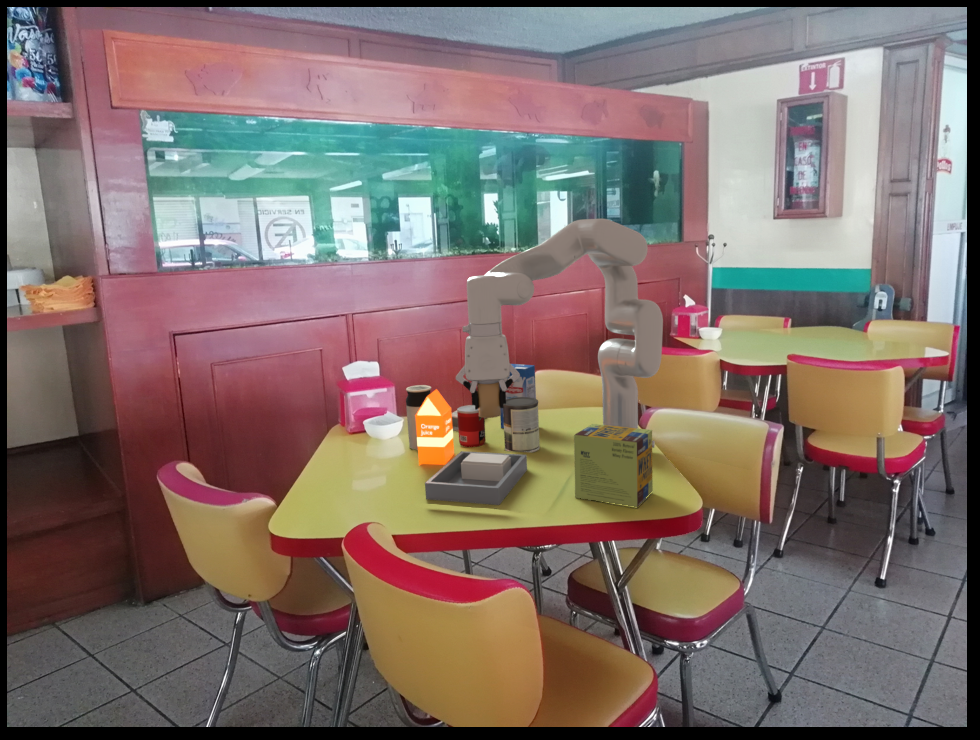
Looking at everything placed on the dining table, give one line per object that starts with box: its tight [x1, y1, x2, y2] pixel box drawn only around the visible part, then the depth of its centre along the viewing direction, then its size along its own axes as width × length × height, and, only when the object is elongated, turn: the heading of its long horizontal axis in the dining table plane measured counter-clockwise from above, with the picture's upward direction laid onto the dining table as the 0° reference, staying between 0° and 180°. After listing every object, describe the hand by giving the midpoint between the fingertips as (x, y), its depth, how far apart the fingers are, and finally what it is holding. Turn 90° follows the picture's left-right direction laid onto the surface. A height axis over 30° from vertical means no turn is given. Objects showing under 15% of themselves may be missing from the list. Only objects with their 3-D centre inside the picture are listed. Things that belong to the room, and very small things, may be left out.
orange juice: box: [415, 388, 455, 467], centre depth 189 cm, size 8×9×20 cm
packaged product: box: [451, 404, 468, 432], centre depth 229 cm, size 18×5×10 cm
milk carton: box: [499, 363, 537, 429], centre depth 219 cm, size 10×6×20 cm, turn 58°
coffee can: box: [503, 397, 541, 453], centre depth 198 cm, size 10×10×14 cm
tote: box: [424, 450, 528, 510], centre depth 169 cm, size 18×24×5 cm
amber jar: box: [476, 380, 501, 419], centre depth 160 cm, size 5×5×9 cm
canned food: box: [456, 404, 487, 448], centre depth 205 cm, size 8×8×11 cm
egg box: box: [461, 453, 511, 481], centre depth 175 cm, size 11×7×5 cm, turn 72°
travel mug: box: [405, 384, 432, 451], centre depth 204 cm, size 8×8×18 cm
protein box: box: [573, 423, 654, 508], centre depth 159 cm, size 10×15×16 cm
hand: (489, 406), depth 160 cm, fingers closed on amber jar, 5 cm apart
